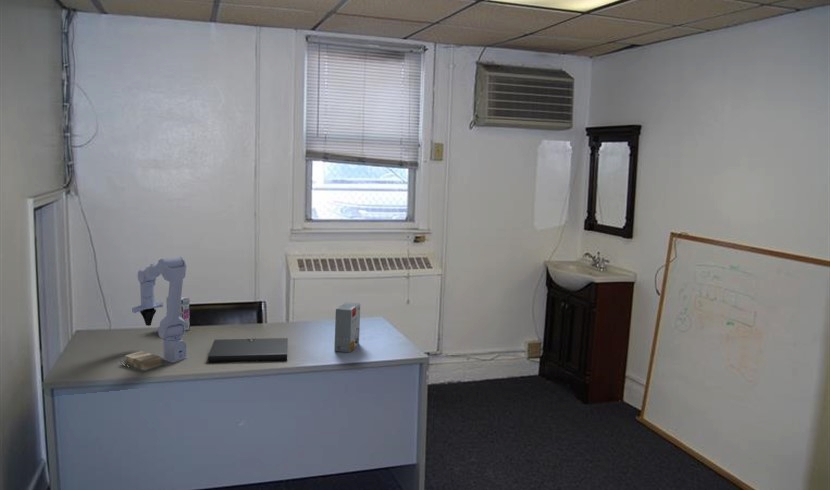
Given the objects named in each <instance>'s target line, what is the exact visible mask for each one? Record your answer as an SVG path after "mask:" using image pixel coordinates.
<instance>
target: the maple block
mask: <svg viewBox="0 0 830 490" xmlns="http://www.w3.org/2000/svg"><path fill="white" fill-rule="evenodd" d="M124 360H125V364H128V365H131V366H133V367H136V368H139V369H142V370H147V369H151V368H154V367H157V366H161V365H162V363H163V362H162V360H163V359H161V356H159V355H156V354H153V353H150V352H146V351H143V350H141V351H137V352H133V353H130V354H126V355H124Z"/></svg>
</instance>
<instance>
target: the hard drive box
mask: <svg viewBox="0 0 830 490" xmlns="http://www.w3.org/2000/svg"><path fill="white" fill-rule="evenodd" d="M334 318H335V322H334V323H335V325H334V345H333V346H334V351H335V352H341V353H342V352H343V353H351V352H352V351H353V350H354V349H355V348H356V347H357V346H358V345H359V344H360V324H361V321H360V320H361V303H358V302H351V301H349V302H348V301H347V302H344V303H343V304H341V305H340V306H339V307H337V308H335V317H334Z"/></svg>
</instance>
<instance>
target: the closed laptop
mask: <svg viewBox="0 0 830 490" xmlns="http://www.w3.org/2000/svg"><path fill="white" fill-rule="evenodd" d="M288 341H289V340H288V337H277V338H274V337H273V338H271V337H270V338H268V337H267V338H256V337H255V338H231V339H230V338H229V339H228V338H227V339H225V338H224V339H214V340H213V342H212V345H211V347H210V350H209V353H208V355H207V363H208V364H209V363H210V364H211V363H213V364H216V363H245V362H246V363H247V362H248V363H249V362H250V363H252V362H253V363H254V362H282V361H283V362H285V361H288V347H289V345H288V343H289V342H288Z"/></svg>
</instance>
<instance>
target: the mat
mask: <svg viewBox="0 0 830 490" xmlns="http://www.w3.org/2000/svg"><path fill="white" fill-rule="evenodd" d="M121 361H122V360H121ZM123 361H124V362H123ZM123 361H122V362H123V363H124V364H125V359H123ZM120 363H121V362H120ZM121 364H122V363H121ZM122 365H123V364H122ZM122 365H121V366H122ZM127 365H128V364H125V366H126V367H125V366H124V365H123V367H125V368H128V366H129V369H131V370H133V371H134V370H135V371H136V372H137V371H138V372H140V373H142V374H144V373H147V372H150V371H155V370H157V369H162V368H164V367H168V366H169V364H168V363H164V362H162V365H161V366H157V367H154V368H151V369H147V370H142V369H139V368H136V367H133V366H131V365H128V366H127Z"/></svg>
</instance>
